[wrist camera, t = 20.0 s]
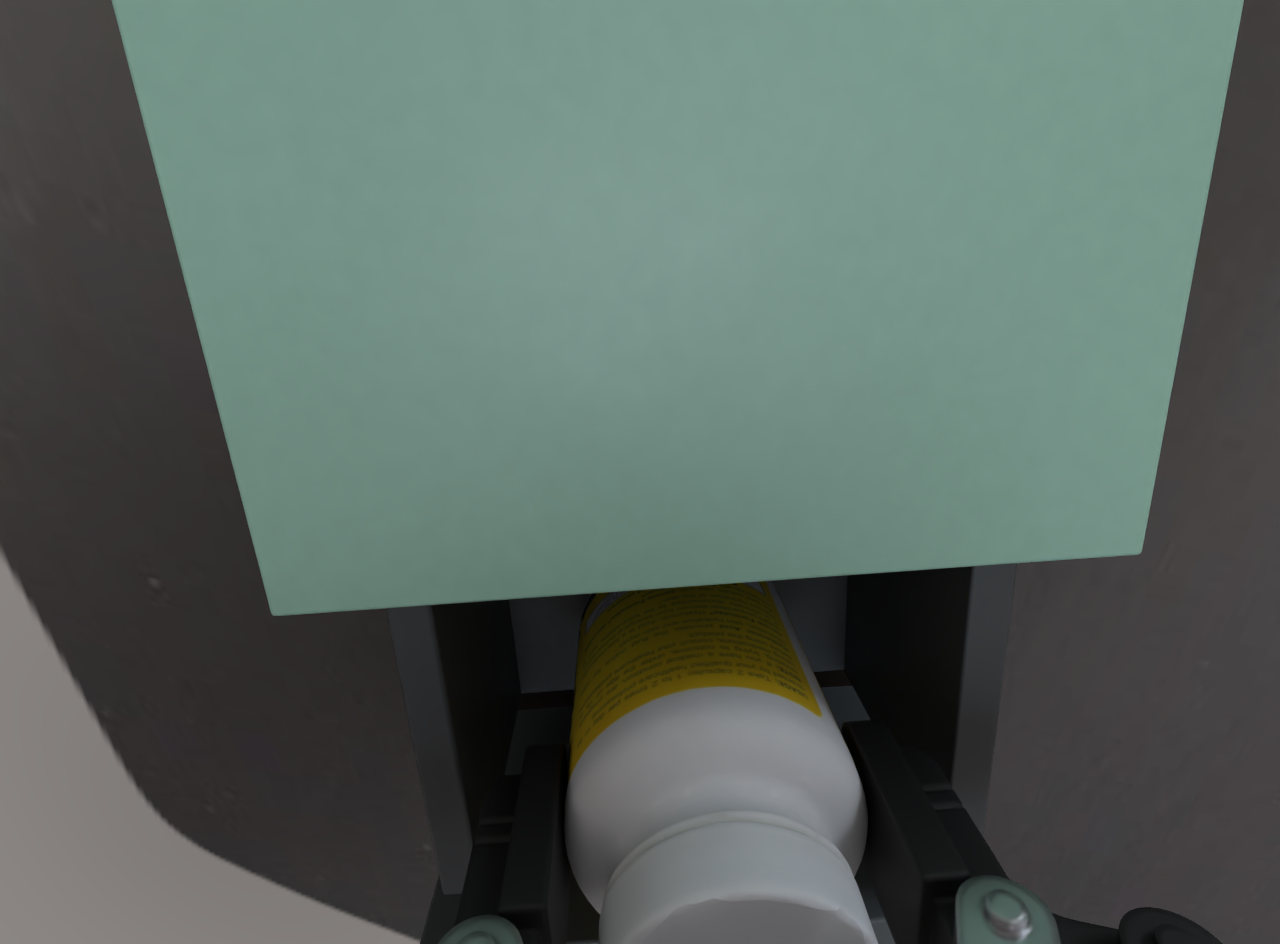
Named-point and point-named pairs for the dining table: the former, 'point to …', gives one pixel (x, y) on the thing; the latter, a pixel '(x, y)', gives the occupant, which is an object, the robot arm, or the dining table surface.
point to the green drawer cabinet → (681, 280)
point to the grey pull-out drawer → (829, 634)
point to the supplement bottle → (709, 775)
